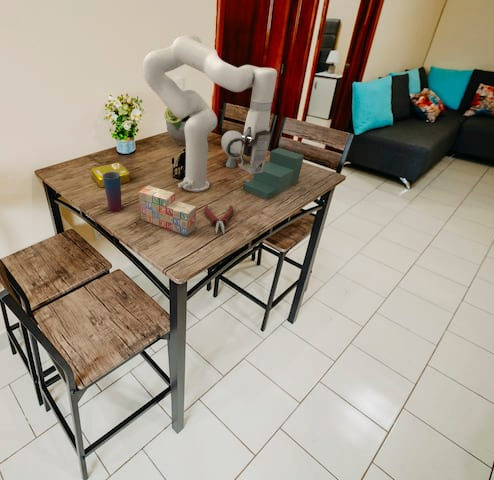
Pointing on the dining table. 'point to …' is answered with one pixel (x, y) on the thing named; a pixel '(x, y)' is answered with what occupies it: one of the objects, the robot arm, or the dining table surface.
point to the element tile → (116, 167)
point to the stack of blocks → (166, 210)
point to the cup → (113, 190)
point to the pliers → (216, 221)
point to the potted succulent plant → (176, 127)
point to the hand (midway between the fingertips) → (253, 152)
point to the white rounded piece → (232, 146)
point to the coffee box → (255, 153)
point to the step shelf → (276, 174)
